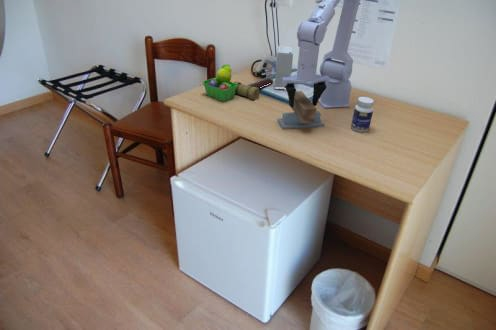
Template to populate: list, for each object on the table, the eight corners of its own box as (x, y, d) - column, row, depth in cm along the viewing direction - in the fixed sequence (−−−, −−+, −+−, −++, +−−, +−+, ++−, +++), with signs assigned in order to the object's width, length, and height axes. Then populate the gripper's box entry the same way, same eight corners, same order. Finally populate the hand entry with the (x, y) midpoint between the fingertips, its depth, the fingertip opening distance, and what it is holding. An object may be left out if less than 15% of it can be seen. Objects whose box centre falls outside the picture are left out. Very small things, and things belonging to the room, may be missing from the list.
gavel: (263, 71, 163) (284, 77, 158) (262, 82, 166) (282, 88, 161) (231, 82, 148) (253, 89, 143) (230, 94, 150) (252, 101, 146)
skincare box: (274, 82, 162) (277, 45, 154) (289, 83, 162) (293, 46, 154) (274, 90, 155) (276, 51, 147) (289, 91, 155) (293, 52, 147)
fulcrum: (317, 118, 135) (319, 108, 133) (324, 126, 130) (325, 116, 128) (277, 120, 132) (278, 110, 131) (282, 129, 128) (283, 118, 126)
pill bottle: (356, 133, 127) (362, 104, 122) (347, 125, 132) (352, 96, 126) (372, 131, 128) (378, 102, 123) (363, 123, 133) (369, 95, 128)
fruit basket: (201, 94, 149) (200, 64, 143) (219, 88, 154) (218, 59, 148) (223, 104, 143) (223, 73, 136) (240, 97, 148) (241, 67, 142)
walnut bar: (300, 103, 136) (301, 91, 134) (314, 122, 125) (316, 108, 122) (289, 104, 135) (290, 91, 133) (302, 122, 124) (303, 109, 121)
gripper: (288, 68, 116) (284, 112, 123) (335, 66, 119) (329, 109, 126) (281, 61, 122) (278, 102, 129) (326, 59, 125) (320, 100, 132)
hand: (302, 105), depth 128 cm, fingers open, 7 cm apart
